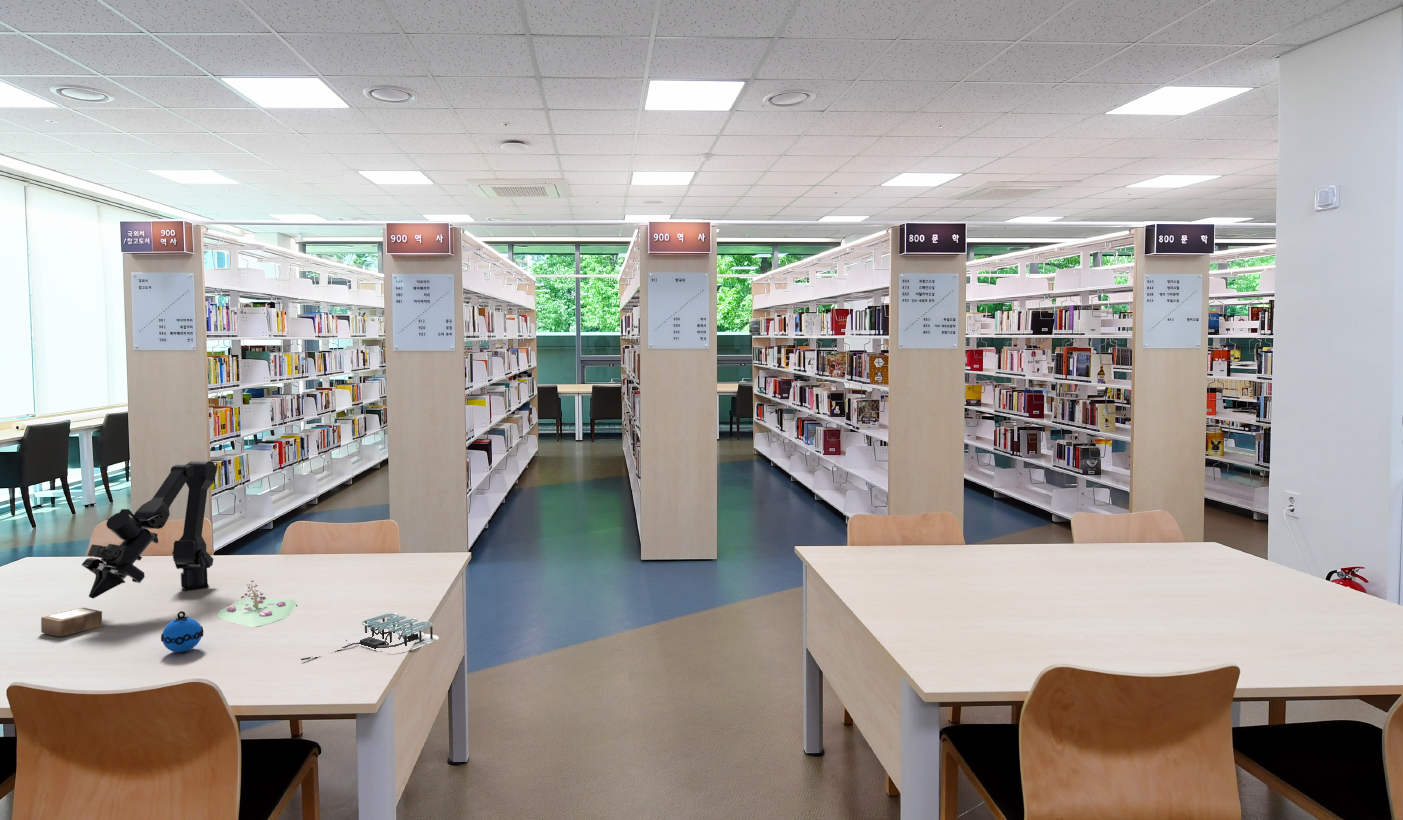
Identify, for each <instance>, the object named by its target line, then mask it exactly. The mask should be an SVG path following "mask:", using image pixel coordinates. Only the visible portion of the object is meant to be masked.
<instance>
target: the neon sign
mask: <svg viewBox="0 0 1403 820" xmlns="http://www.w3.org/2000/svg"><path fill="white" fill-rule="evenodd" d="M381 620H382V622H381ZM418 621H419V619H418V618H414V617H413V618H409V619H407V616H405V615H402V616H400V614H398V613H393V612H391V613H385V614H381V615H377V616H374V617H371V618H367V619H364V620H362V621H361V622H360V624H361V625H362V626H364V632H365V633H367V631H368V628H369V631H371V632H372V637H373V636H374V633H375V634H376V635H378V634H379V633H380V634H381V635H382V639H384V634H387V633H388V634H387V636H386V638H385V641H382V640H379V639H375V638H372V637H367V638H364V639H361V640H360V642H356V643H352V644H349V643H348V644H347V645H345V646H342V647H341V648H344V649H346V648H349V647H351V646H353V645H354V644H361V645H364V646H368V647H371V648H374V649H376V648H389V647H396V646H399V645H402V644H405V646H407V642H411V641H414V640H416V642H415V643H414V645H413V647H412V649H411V651H413V650H416V649H419V648H422V647H425V646H427V645H430V644H432V643H435V642H437V641H438V640H439V639H440V637H439V635H436V634H433V626H434V625H433V622H429V621H420V622H418ZM392 625H393V626H392ZM388 626H389V627H388ZM400 626H401V627H400ZM395 627H399V628H396V629H395ZM376 628H377V629H376ZM390 628H391V629H390ZM384 629H388V630H389V631H388V632H384ZM405 629H406V630H405ZM426 629H429V630H430V631H429V632H430V633H424V632H423V631H424V630H426ZM377 630H378V633H376V632H375V631H377ZM381 630H382V631H381ZM402 630H403V631H402ZM409 630H410V631H409ZM399 631H402V633H401V635H400V633H399ZM406 631H408V632H406ZM413 631H414V632H413ZM381 632H382V633H381ZM392 632H393V633H395V632H396V633H397V634H398V635H399V637H398V639H399V640H400V639H401V637H402V638H403V639H404V642H402V643H399V644H395V645H389V643H388V642H387V641H386V640H387V637H388V636H389V637H390V643H391V642H392ZM416 632H419V636H418V633H416ZM414 633H416V634H414ZM410 634H411V635H410ZM407 635H409V636H407ZM407 639H408V640H407ZM386 643H387V644H386ZM348 646H349V647H348ZM311 657H312V656H310V657H304V658H300V660H301V661H304V660H305V661H306V660H311V659H310V658H311Z"/></svg>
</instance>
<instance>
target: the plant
mask: <svg viewBox="0 0 1403 820" xmlns="http://www.w3.org/2000/svg"><path fill="white" fill-rule="evenodd" d="M250 582H251V584H246V586H247V589H248V590H247V592H248V593H249V592H251V593H249V594H248V593H244V595H242V596H241V597H240V598H241V599H240V600H237V601H235V602H233V603H231V604H230V605H228V606H226V607H224V608H223V609H221V610H219V611H218V613H217V615H216V617H217V618H218V619H221V620H224V621H226V622H229V623H233V624H236V625H241V626H243V627H244V626H245V627H249V628H257V627H263V626H267V625H271V624H273V623H276V622H279V621H282V620H284V619H286V618H288V617H289V616H290V615H291V614H292V612H293V611H294V610H295V609H293V608H294V607H295V606H296V605H297V606H298V603H297V602H296V601H295V600H294V599H292V598H266V596H263V595H264V593H262V592H261V591H260V592H259V589H258V590H256V589H255V588H257V587H258V586H259V585H258V584H255V585H253V584H252V583H254V580H250ZM253 588H254V589H253ZM258 593H259V594H258ZM245 597H246V598H245ZM292 610H293V611H292Z"/></svg>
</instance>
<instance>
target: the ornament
mask: <svg viewBox="0 0 1403 820" xmlns="http://www.w3.org/2000/svg"><path fill="white" fill-rule="evenodd" d="M181 614H182V615H181ZM203 628H204V626H203V625H201V624H200V623H199V621H198V620H196V619H195V618H193V617H189V616H186V612H185V611H182V610H181V611H179V612H177V615H176V618H174V619H173V620H171V621H169V622H168V623H167V624H166V626H165V627H164V629H163V630H162V633H160V634H161V635H160V641H161V642H162V644H163V645H164V647H165V648H166V649H168V650H169V651H171V652H173V653H179V654H181V653H186V652H188V651H191V650H192V649H194V648H195V647H196V646H197V645H199V643H200V641H201V640H202V637H204V629H203Z"/></svg>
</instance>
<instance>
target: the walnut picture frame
mask: <svg viewBox="0 0 1403 820" xmlns="http://www.w3.org/2000/svg"><path fill="white" fill-rule="evenodd" d="M40 618H41V619H40V624H41V625H40V629H41V630H40V632H41V633H43V634H46V635H52V636H56V637H59V638H60V637H65V636H69V635H73V634H76V633H77V634H78V633H80V632H84V631H87V630H92V629H96V628H101V627H103V611H102V610H98V609H92V608H87V607H80V608H76V609H71V610H67V611H63V612H58V613H54V614H49V615H46V616H41V617H40Z"/></svg>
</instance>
